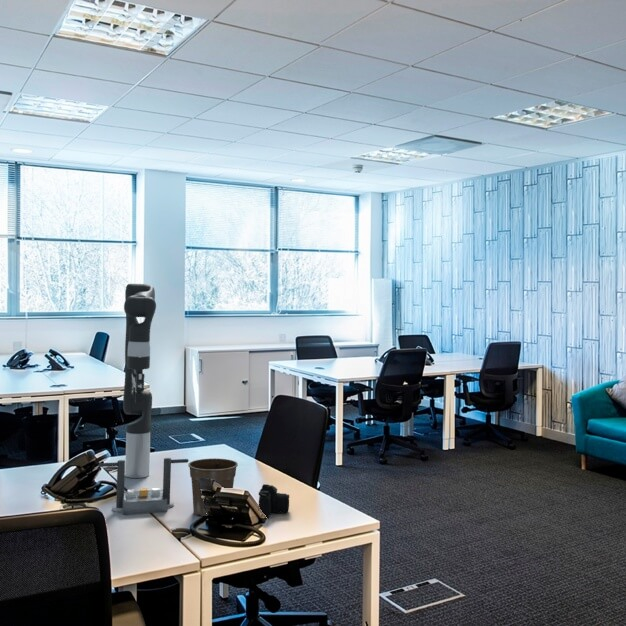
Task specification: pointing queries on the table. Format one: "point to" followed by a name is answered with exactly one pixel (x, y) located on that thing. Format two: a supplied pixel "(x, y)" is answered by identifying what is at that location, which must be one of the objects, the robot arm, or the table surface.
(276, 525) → the table surface
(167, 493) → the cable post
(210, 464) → the plant pot
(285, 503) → the film camera
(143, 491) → the orange matte cube
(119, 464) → the cable post
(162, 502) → the grey block holder
